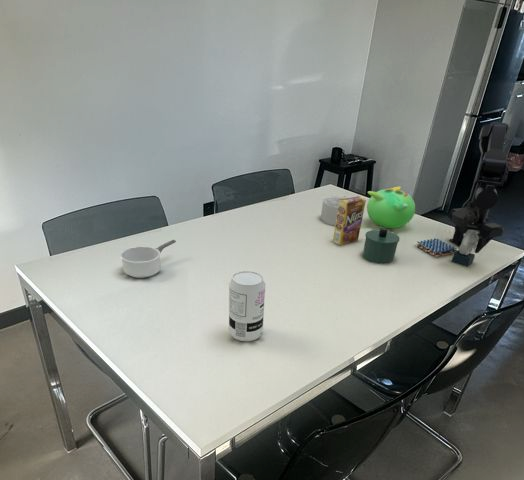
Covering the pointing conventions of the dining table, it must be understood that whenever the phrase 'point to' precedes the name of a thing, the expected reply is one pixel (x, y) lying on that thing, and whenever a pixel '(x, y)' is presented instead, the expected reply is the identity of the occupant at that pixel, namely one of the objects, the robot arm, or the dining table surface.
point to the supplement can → (246, 305)
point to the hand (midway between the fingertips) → (466, 247)
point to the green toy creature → (390, 207)
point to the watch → (466, 249)
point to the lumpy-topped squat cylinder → (330, 210)
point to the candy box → (349, 220)
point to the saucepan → (142, 260)
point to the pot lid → (382, 236)
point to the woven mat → (436, 247)
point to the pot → (379, 252)
